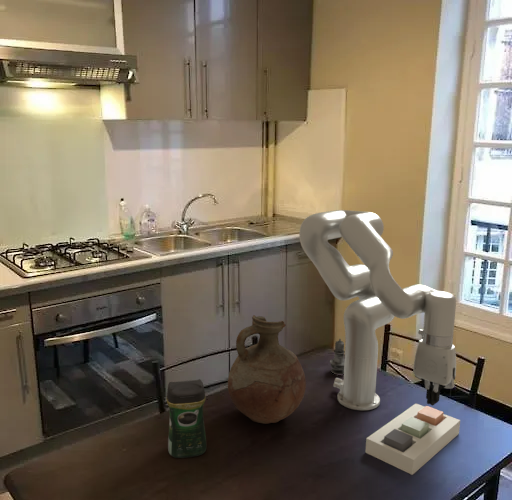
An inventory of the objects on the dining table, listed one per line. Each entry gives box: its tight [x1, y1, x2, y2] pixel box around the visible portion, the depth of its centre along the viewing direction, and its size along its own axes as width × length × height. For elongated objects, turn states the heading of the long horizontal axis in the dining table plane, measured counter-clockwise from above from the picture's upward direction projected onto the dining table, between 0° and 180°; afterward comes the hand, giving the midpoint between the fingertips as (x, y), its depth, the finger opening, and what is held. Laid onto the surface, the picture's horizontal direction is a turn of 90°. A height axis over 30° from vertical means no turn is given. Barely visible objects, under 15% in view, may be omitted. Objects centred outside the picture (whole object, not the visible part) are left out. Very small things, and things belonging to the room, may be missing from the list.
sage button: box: [401, 417, 429, 439], centre depth 143 cm, size 5×5×2 cm
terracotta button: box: [417, 405, 444, 426], centre depth 149 cm, size 5×5×2 cm
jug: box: [227, 314, 307, 425], centre depth 152 cm, size 22×22×30 cm
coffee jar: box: [165, 378, 207, 459], centre depth 137 cm, size 10×8×19 cm
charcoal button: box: [384, 429, 413, 452], centre depth 137 cm, size 5×5×2 cm
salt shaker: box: [329, 338, 345, 375], centre depth 184 cm, size 6×6×12 cm
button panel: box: [365, 403, 461, 476], centre depth 144 cm, size 13×26×4 cm, turn 136°
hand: (432, 402), depth 148 cm, fingers closed
